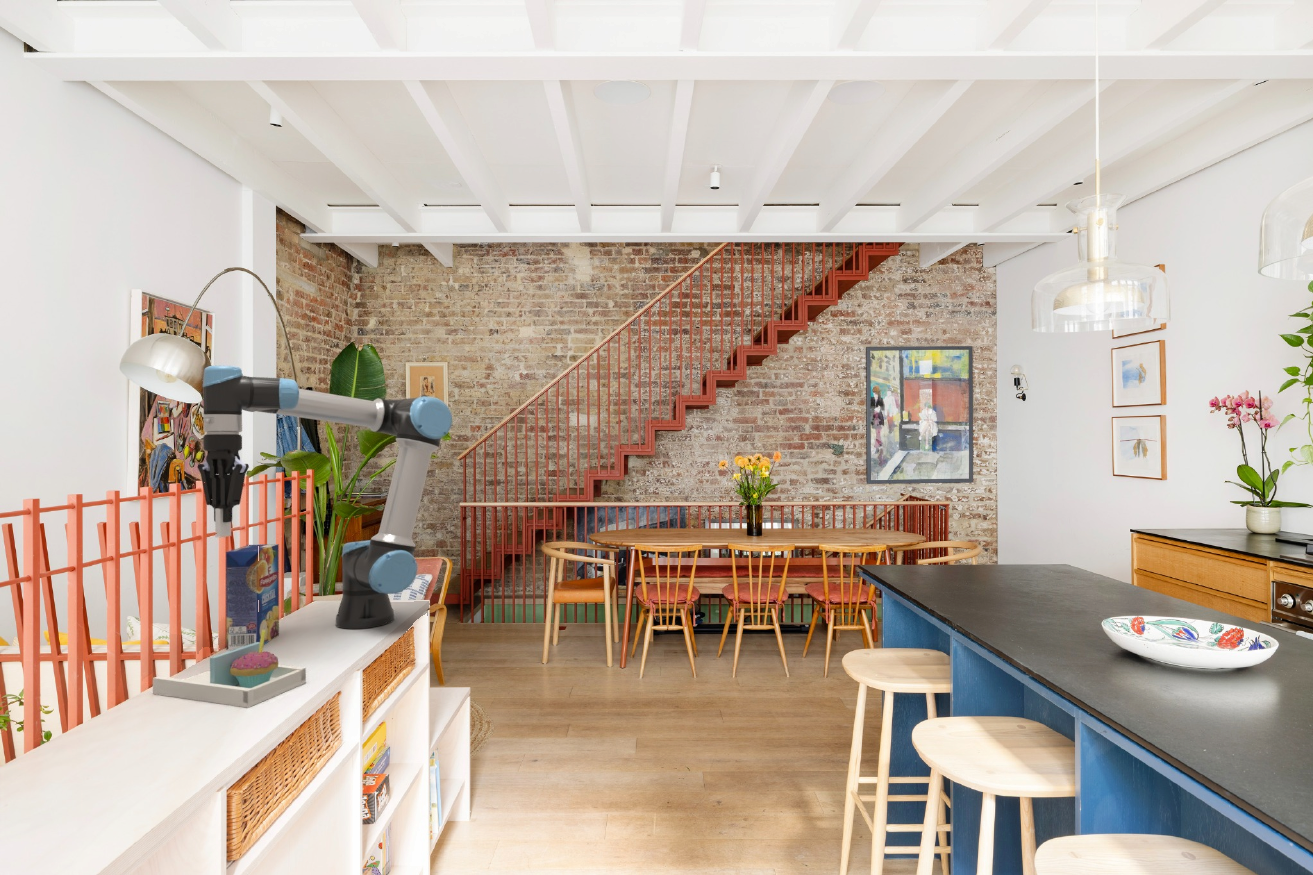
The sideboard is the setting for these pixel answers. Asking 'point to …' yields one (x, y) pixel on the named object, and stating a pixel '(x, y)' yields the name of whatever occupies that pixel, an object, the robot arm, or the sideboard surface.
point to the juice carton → (252, 595)
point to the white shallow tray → (230, 687)
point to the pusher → (228, 665)
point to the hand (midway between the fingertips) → (223, 536)
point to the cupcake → (254, 666)
